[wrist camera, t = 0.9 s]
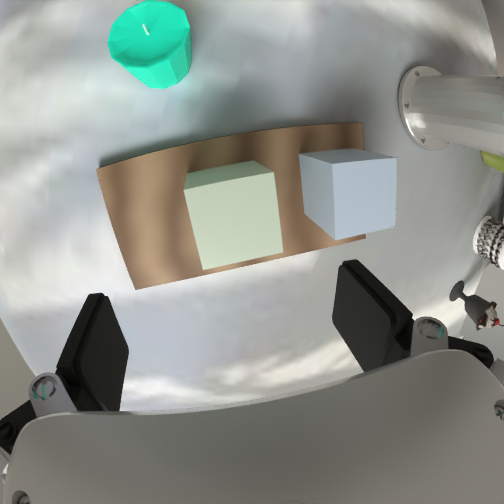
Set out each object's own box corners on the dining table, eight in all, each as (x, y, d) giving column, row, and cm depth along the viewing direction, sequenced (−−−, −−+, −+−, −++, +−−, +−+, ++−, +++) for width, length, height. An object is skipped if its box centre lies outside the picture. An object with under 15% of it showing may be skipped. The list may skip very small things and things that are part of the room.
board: (357, 122, 29) (364, 123, 28) (361, 235, 36) (367, 239, 34) (99, 168, 26) (94, 170, 25) (136, 285, 33) (134, 292, 31)
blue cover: (353, 148, 29) (396, 157, 22) (356, 203, 33) (394, 226, 25) (298, 153, 29) (331, 163, 22) (304, 213, 32) (335, 240, 25)
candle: (175, 96, 25) (161, 76, 14) (125, 79, 22) (84, 53, 12) (201, 49, 23) (206, 3, 12) (152, 32, 21) (129, -17, 10)
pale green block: (253, 160, 28) (273, 172, 21) (262, 221, 31) (283, 252, 24) (186, 173, 27) (183, 189, 20) (200, 235, 30) (203, 270, 23)
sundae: (467, 287, 48) (511, 323, 34) (449, 308, 49) (491, 349, 36) (463, 271, 45) (512, 309, 32) (444, 294, 46) (490, 337, 33)
